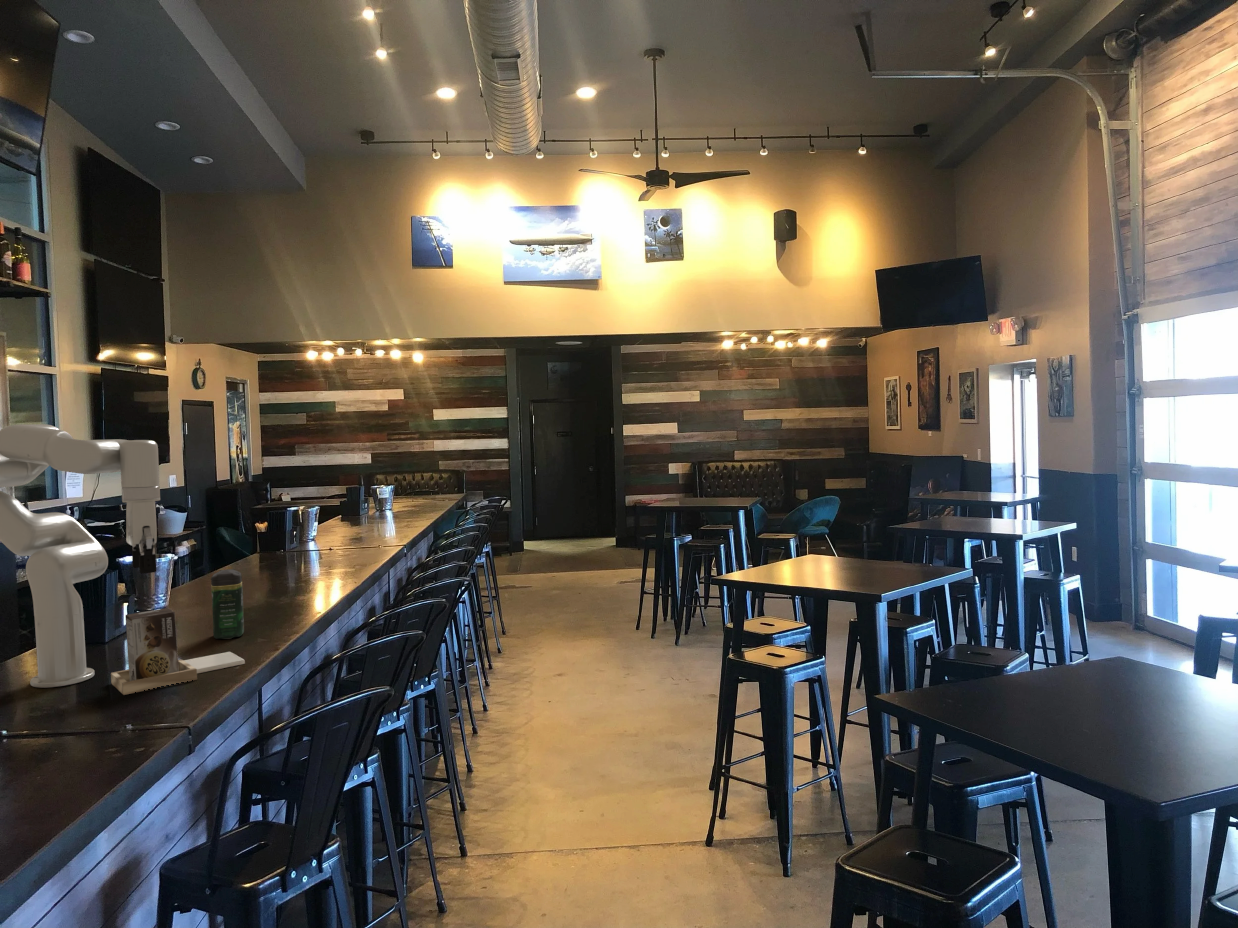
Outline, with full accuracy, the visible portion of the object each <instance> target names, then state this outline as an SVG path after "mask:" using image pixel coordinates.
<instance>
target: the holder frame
mask: <svg viewBox="0 0 1238 928" xmlns="http://www.w3.org/2000/svg"><path fill="white" fill-rule="evenodd" d="M178 667H179V672H174V673H169V674H164V675H159V676H154V677H149V678H144V679H139V680H134V681H130V676H129V668H128V669H123V670H118V671H114V672H113V671H112V672H111V673H110V681H111V685H112V686H113V687H115V688H116V689H117V690H118V692H120V693H121V694H122V695H123V696H125V695H129V694H135V692H136V693H140V692H145V691H149V690H148V689H150V690H154V689H153V688H155V689H157V687H160V688H162V687H161V686H164V687H167V686H166V685H169V686H172V685H171V684H174V685H177V684H176V683H179V684H182V683H181V682H184V683H187V681H188V682H192V680H193V681H196V680H198V673H197V669H196V668H194V667H193V666H191V665H190V664H188V663H186V662H185V661H184V660H183V659H182V658H181V659H178ZM144 690H145V691H144Z"/></svg>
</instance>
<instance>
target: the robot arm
mask: <svg viewBox="0 0 1238 928" xmlns="http://www.w3.org/2000/svg"><path fill="white" fill-rule="evenodd" d="M158 447H159V445H158V443H157V442H156V441H155V440H151V439H150V440H149V439H134V440H129V439H128V440H127V439H121V438H119V439H115V438H114V439H87V440H85V439H77V438H76V439H75V438H73V436H72V435H71V434H70V432H68V431H65V430H64V429H59V428H58V427H56V426H54V425H51V424H47V423H46V424H45V423H39V424H38V423H37V424H36V423H35V424H34V423H31V424H23V423H21V424H19V423H18V424H11V425H7V426H5V427H3V428H0V488H11V487H19V486H25V485H27V484H29V483H31V482H32V481H34V480H35V479H36V478H37V477H38V476H39V475H41V474H42V473H43V472H44V471H45V470H47V468H48V467H51V468H52V469H54V470H55V471H60V472H65V473H66V472H67V473H72V474H73V473H75V474H80V475H95V474H107V473H108V474H109V473H110V474H113V473H120V481H121V482H120V483H121V486H120V487H121V501H122V503H124V504H125V503H126V508H125V509H126V510H125V511H126V513H125V514H126V515H125V516H126V517H125V518H126V521H125V522H126V523H125V524H126V526H125V527H126V529H125V532H126V535H125V536H126V538H125V539H126V540H125V541H126V543H127V544H128V545H130V546H132V547H131V548H132V550H131V552H132V553H131V556H132V557H131V559H132V567H133V569H138V568H139V573H140V574H142V575H143V574H152V573H156V572H157V555H156V549H155V545H156V544H157V538H158V536H157V532H158V530H157V529H158V528H157V515H156V514H157V512H156V502H159V501H161V490H160V488H161V487H160V486H161V485H160V484H161V483H160V465H159V464H160V463H159V460H160V459H159V448H158ZM0 542H1V543H2V544H3V545H4V546H5V547H6V548H7V549H8V550H9V551H10V552H12V553H13V554H15V555H17V556H22V557H27V556H29V558H28V559H27V562H26V564H25V573H26V578H27V581H28V584H29V587H30V591H31V596H32V604H33V616H34V628H35V643H36V644H35V645H36V646H35V647H36V660H37V675H34V677H32V678H31V679H30V682H29V683H30V686H32V687H33V688H45V689H46V688H47V689H48V688H56V687H58V688H59V687H64V686H69V685H74V684H78V683H82V682H84V681H87V680H89V679H91V678H93V677H94V676H95V670H94V669H93V668H91V667H87V653H86V640H85V639H86V638H85V636H86V635H85V621H84V618H85V617H84V608H83V607H84V605H83V600H82V598H81V595H80V594H79V592H78V591H77V590H76V588H75V586H74V585H75V584H76V583H81V582H85V581H90V580H94V579H96V578H98V577H101V575H103V574H104V573H105V572H106V570H107V569H108V566H109V557H108V554H107V552H106V550H105V548H104V547H103V546H102V544H101V543H100V542H99V541H98V540H97V539H96V538H95V537H94V536H93V535H92V534H91V533H90V532H89V531H88V530H87V529H86V528H85V527H83V525H81V523H80V522H78V521H77V520H76V519H75V518H74V517H72V516H70V515H69V514H66V513H63V512H58V511H57V512H54V511H53V512H43V513H35V512H32V511H31V510H29V509H28V508H26V507H25V506H24V505H23V503H21V501H19V500H18V499H17V498H16V497H14V496H12V495H10V494H8V493H6V492H4V491H1V490H0Z"/></svg>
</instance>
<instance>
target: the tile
mask: <svg viewBox="0 0 1238 928" xmlns="http://www.w3.org/2000/svg"><path fill="white" fill-rule="evenodd" d="M183 661H185V662H186V663H188V664H190V665H191V666H193V667H194V668H196V669H197V674H201V673H207V672H211V671H217V670H221V669H224V668H230V667H235V666H240V665H245V664H246V661H245V659H244V658H242V657H241V656H238V655H237V654H235V653H233V652H231V651H226V652H225V651H224V652H222V653H221V652H220V653H215V654H210V655H205V656H199V657H194V658H190V659H185V660H183Z"/></svg>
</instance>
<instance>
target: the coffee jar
mask: <svg viewBox="0 0 1238 928" xmlns="http://www.w3.org/2000/svg"><path fill="white" fill-rule="evenodd" d="M242 578H243V577H242V572H241V571H239V570H237V569H235V568H233V569H231V568H230V569H220V570H218V572H216V573H214V574H213V575H212V576H211V578H210V581H211V582H210V583H211V586H210V587H211V588H210V589H211V590H210V591H211V611H212V630H213V632H212V633H213V634H212V635H213V638H214V639H223V640H230V639H232V638H236V637H238V638H239V637H241V636H242V635H243V634H244V632H245V620H244V619H245V618H244V593H243V579H242Z"/></svg>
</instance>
